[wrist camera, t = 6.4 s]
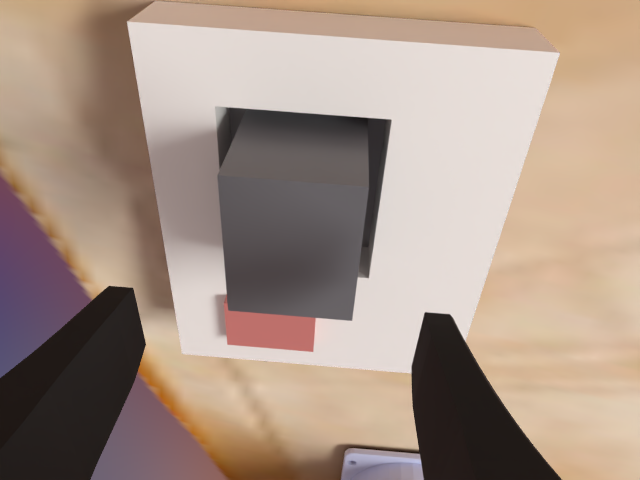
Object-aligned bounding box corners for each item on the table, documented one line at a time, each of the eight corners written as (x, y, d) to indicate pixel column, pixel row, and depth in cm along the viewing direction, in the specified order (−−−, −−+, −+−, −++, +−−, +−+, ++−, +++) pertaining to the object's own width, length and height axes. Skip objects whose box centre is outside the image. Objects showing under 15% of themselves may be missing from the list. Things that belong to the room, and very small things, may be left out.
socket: (446, 334, 25) (455, 386, 22) (196, 313, 25) (179, 363, 22) (535, 27, 16) (565, 58, 14) (155, 1, 16) (120, 26, 14)
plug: (353, 229, 21) (352, 320, 17) (254, 221, 21) (228, 310, 17) (367, 110, 17) (368, 186, 14) (249, 101, 18) (217, 175, 14)
